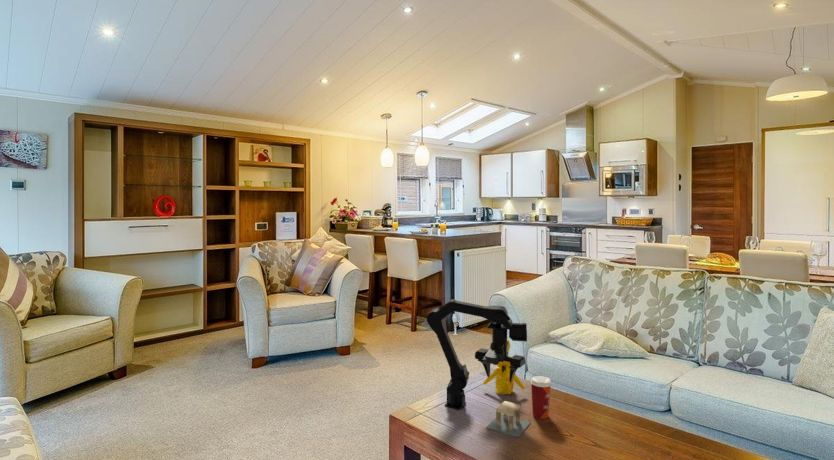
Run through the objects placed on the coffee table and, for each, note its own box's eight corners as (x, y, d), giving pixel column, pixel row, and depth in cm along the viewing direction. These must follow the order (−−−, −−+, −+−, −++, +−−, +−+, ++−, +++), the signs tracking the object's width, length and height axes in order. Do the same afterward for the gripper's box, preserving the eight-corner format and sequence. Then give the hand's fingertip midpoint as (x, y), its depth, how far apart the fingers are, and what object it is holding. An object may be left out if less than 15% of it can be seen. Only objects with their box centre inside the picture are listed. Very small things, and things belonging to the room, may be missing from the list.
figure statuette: (481, 392, 192) (482, 341, 191) (485, 385, 200) (485, 336, 198) (524, 398, 186) (525, 345, 185) (526, 391, 194) (527, 340, 192)
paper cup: (552, 421, 167) (552, 384, 166) (530, 419, 169) (530, 382, 168) (550, 411, 175) (550, 376, 174) (529, 409, 176) (530, 374, 175)
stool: (504, 418, 169) (504, 400, 168) (520, 422, 165) (520, 404, 165) (496, 426, 163) (496, 408, 162) (511, 431, 159) (512, 412, 159)
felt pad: (485, 428, 162) (485, 427, 162) (499, 414, 172) (499, 413, 172) (518, 437, 156) (518, 436, 156) (530, 423, 166) (530, 422, 166)
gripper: (468, 341, 173) (468, 381, 175) (514, 349, 163) (514, 392, 164) (481, 333, 183) (481, 371, 184) (526, 341, 172) (525, 381, 173)
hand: (499, 379), depth 176 cm, fingers open, 9 cm apart
